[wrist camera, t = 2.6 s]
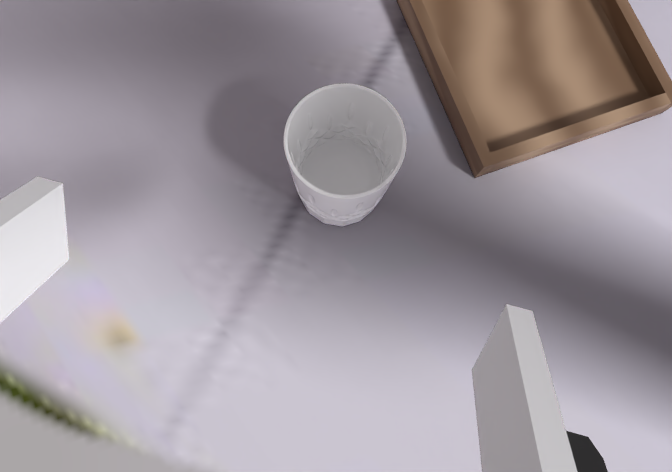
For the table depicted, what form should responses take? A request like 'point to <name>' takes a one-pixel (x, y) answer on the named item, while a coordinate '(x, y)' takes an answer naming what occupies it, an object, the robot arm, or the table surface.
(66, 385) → the table surface
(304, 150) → the white cup
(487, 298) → the table surface
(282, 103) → the table surface
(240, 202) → the table surface
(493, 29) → the walnut tray
